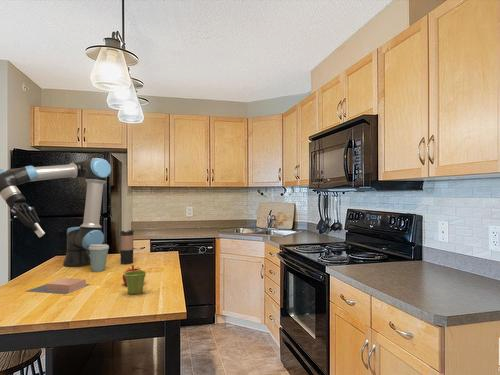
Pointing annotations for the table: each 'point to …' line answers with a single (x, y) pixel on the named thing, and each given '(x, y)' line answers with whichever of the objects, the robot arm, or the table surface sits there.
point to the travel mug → (126, 247)
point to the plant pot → (135, 281)
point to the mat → (43, 290)
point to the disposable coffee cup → (98, 256)
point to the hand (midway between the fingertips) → (42, 235)
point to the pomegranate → (129, 271)
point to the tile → (65, 285)
